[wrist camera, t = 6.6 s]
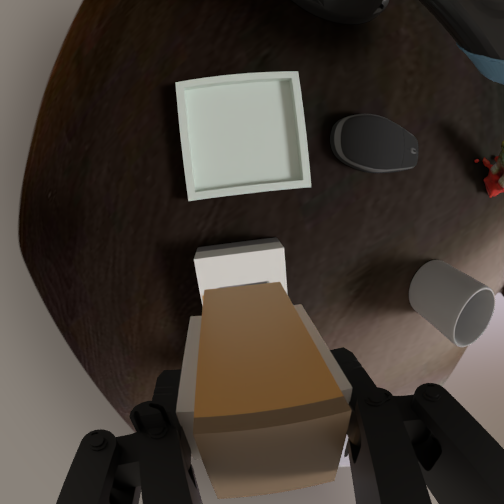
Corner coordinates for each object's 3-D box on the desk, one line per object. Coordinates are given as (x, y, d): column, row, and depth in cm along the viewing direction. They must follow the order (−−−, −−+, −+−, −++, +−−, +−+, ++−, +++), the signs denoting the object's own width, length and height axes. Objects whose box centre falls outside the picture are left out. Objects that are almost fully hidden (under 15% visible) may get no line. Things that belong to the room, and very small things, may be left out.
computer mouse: (412, 179, 33) (430, 181, 29) (327, 167, 32) (340, 168, 28) (414, 127, 31) (432, 125, 28) (329, 109, 30) (342, 103, 26)
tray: (178, 86, 28) (175, 82, 26) (294, 76, 28) (298, 71, 27) (190, 199, 31) (188, 201, 30) (306, 185, 32) (311, 186, 30)
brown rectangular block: (204, 289, 15) (193, 434, 6) (280, 281, 16) (351, 410, 6) (214, 352, 16) (217, 498, 7) (282, 344, 17) (333, 480, 7)
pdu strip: (197, 247, 33) (193, 259, 29) (276, 237, 34) (284, 247, 29) (226, 391, 39) (226, 413, 35) (286, 383, 40) (293, 404, 35)
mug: (398, 305, 38) (441, 344, 28) (423, 251, 36) (474, 279, 26) (445, 319, 40) (485, 352, 30) (467, 273, 38) (512, 299, 28)
